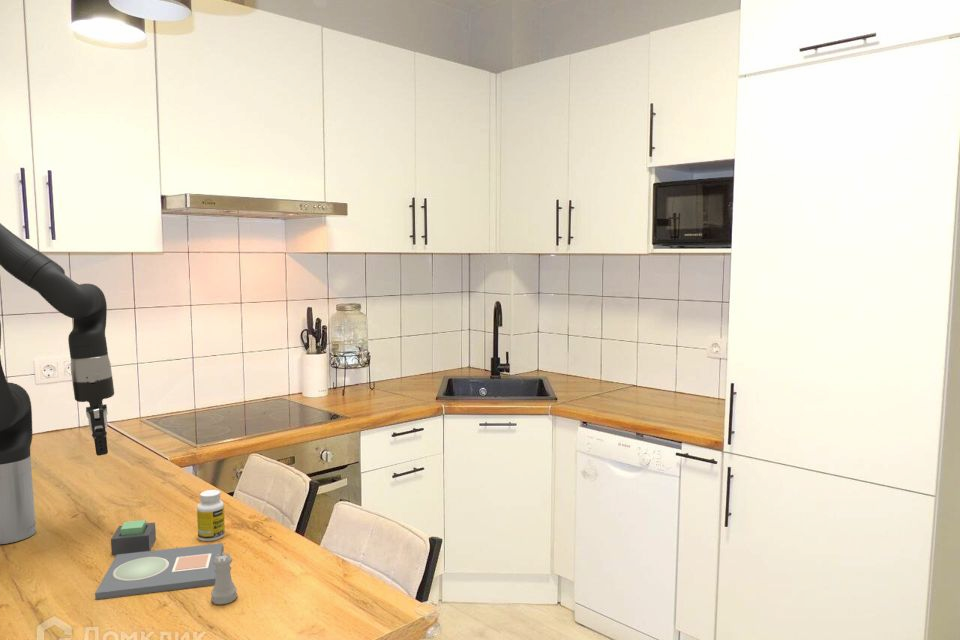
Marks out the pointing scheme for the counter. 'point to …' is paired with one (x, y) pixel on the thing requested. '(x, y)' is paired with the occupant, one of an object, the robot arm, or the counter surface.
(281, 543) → the counter surface
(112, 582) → the picture board
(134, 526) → the button
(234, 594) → the rook chess piece
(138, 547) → the button housing
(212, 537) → the supplement bottle
